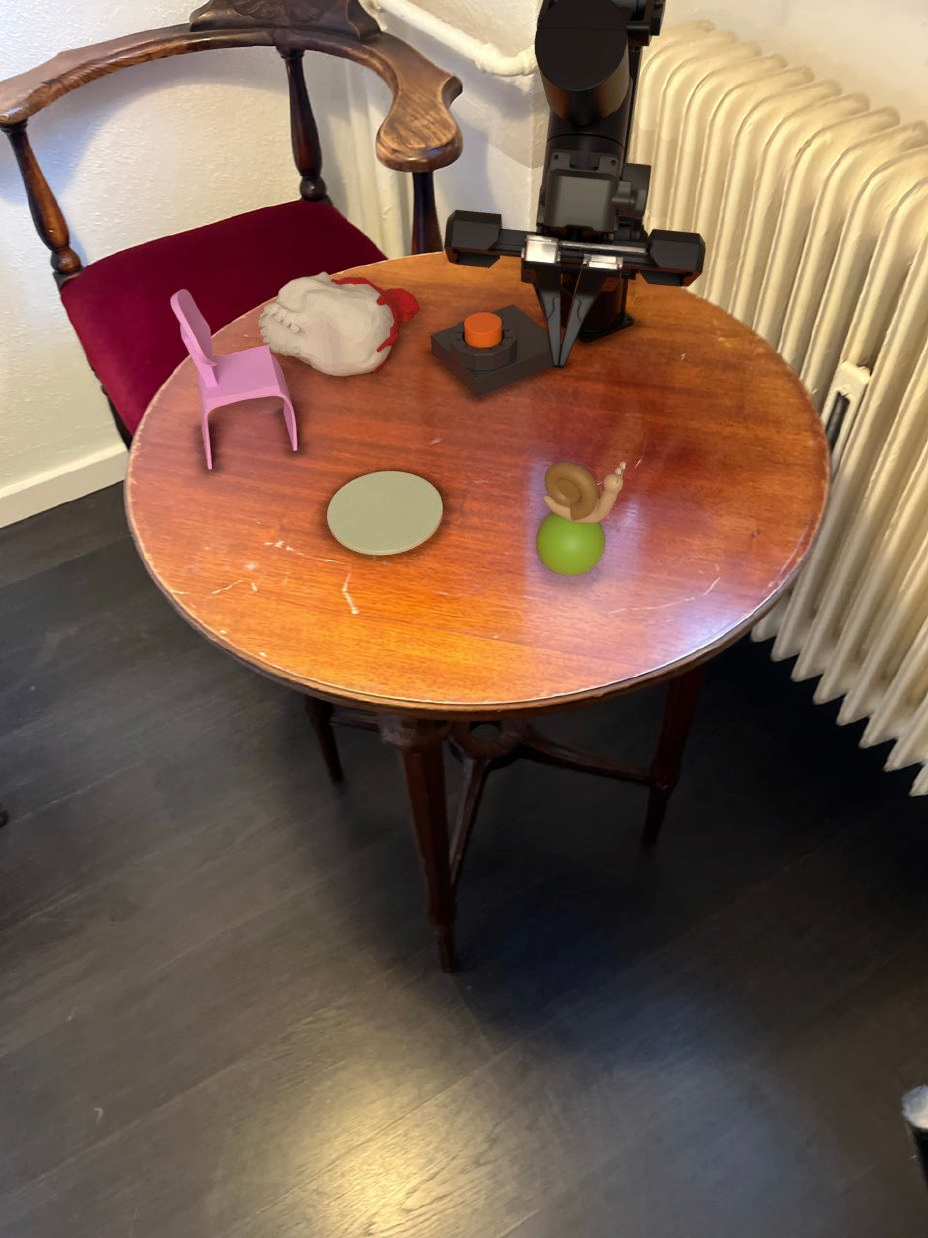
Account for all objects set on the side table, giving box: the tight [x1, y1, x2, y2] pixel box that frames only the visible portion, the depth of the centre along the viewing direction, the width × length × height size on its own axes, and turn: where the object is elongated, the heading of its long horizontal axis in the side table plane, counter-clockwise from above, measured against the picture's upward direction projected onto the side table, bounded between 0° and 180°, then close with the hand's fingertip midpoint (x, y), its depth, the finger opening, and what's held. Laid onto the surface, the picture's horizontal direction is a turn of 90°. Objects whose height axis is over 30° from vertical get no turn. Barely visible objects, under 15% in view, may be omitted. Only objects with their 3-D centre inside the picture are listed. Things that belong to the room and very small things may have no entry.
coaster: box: [326, 470, 444, 556], centre depth 77 cm, size 10×10×1 cm
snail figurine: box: [535, 461, 627, 577], centre depth 67 cm, size 5×6×12 cm
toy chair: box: [170, 288, 298, 470], centre depth 78 cm, size 8×9×15 cm
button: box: [464, 311, 502, 348], centre depth 86 cm, size 4×4×2 cm
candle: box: [258, 271, 421, 377], centre depth 89 cm, size 9×11×15 cm
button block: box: [430, 303, 553, 398], centre depth 89 cm, size 10×9×4 cm
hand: (558, 368), depth 68 cm, fingers closed
